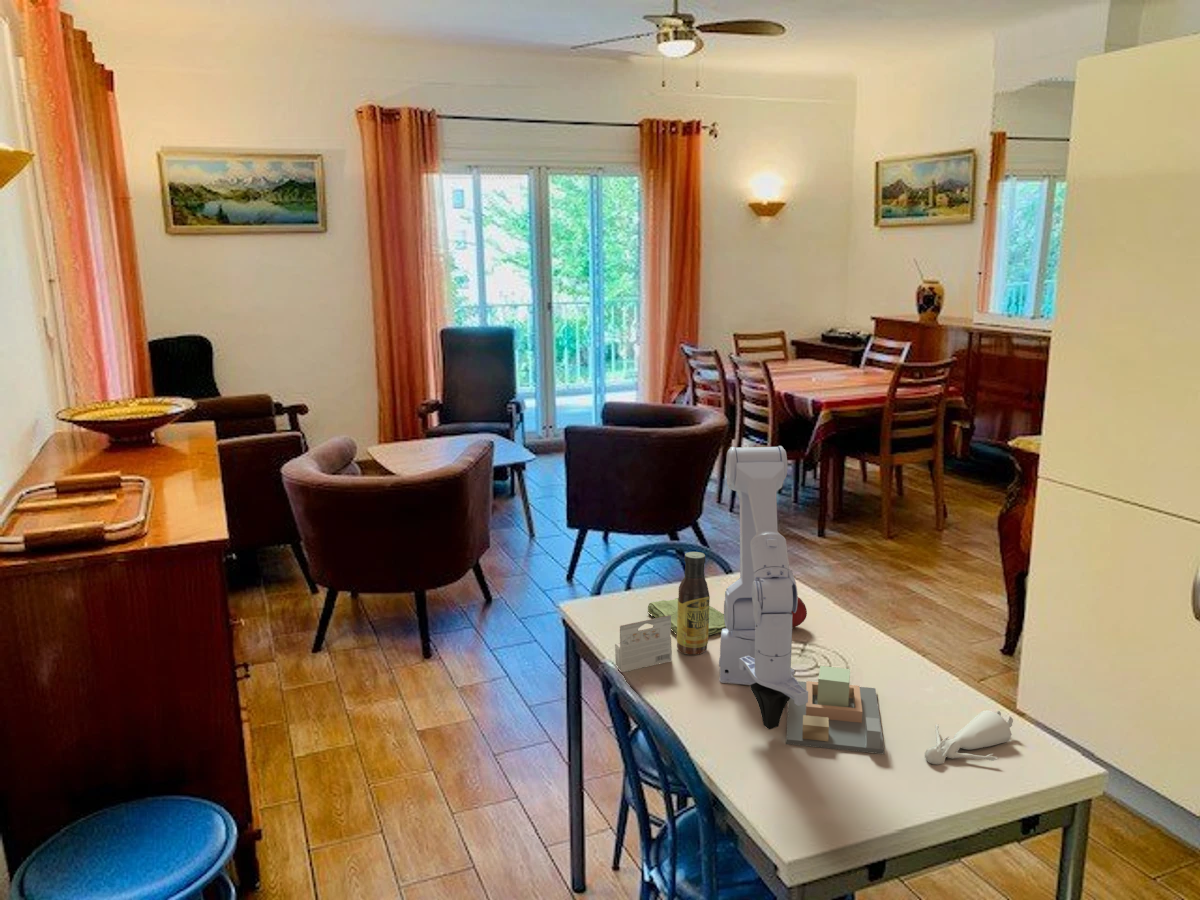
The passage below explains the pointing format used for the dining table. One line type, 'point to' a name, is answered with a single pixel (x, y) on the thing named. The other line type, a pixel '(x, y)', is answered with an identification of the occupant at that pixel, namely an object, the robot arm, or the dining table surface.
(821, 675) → the sage green cube
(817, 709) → the housing
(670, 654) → the ink cartridge box
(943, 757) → the woman figurine
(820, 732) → the tan eraser block
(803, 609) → the onion
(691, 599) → the sauce bottle
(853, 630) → the dining table surface
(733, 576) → the dining table surface
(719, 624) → the washcloth
